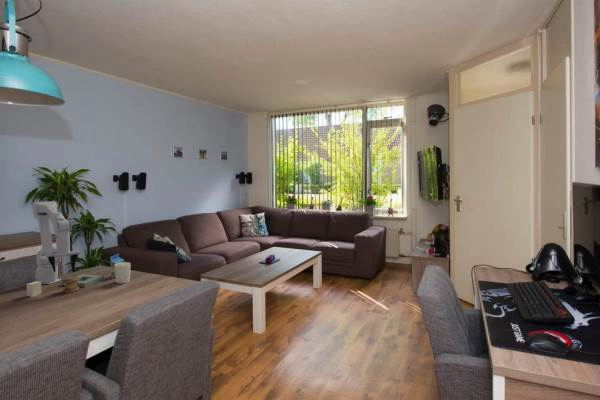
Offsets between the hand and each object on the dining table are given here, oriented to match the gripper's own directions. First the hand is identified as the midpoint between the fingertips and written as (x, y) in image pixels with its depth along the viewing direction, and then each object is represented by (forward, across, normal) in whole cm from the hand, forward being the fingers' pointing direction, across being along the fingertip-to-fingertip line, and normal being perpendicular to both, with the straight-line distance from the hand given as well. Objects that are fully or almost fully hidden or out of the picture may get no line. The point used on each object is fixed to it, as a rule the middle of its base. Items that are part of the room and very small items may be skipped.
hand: (63, 270), depth 175 cm
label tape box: (+10, +26, +15) cm, 32 cm away
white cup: (+10, +27, +1) cm, 29 cm away
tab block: (+10, -12, -1) cm, 16 cm away
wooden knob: (+10, +3, -2) cm, 11 cm away
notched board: (+10, +8, +10) cm, 17 cm away
